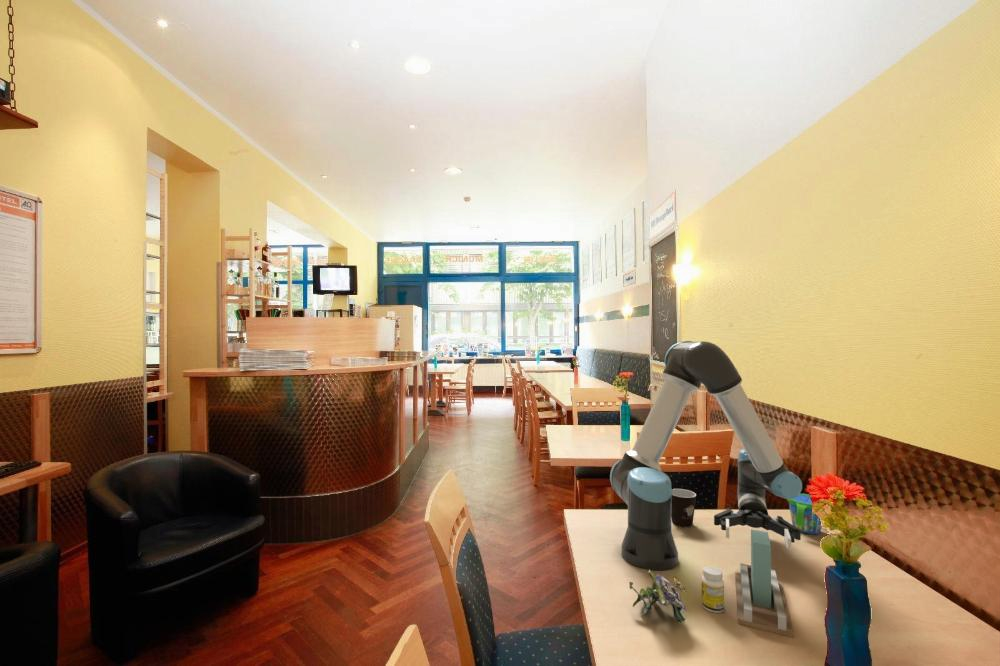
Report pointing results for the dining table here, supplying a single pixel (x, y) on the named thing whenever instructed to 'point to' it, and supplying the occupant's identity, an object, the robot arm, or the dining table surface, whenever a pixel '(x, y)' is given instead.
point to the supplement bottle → (712, 589)
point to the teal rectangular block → (761, 568)
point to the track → (759, 615)
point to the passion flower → (662, 595)
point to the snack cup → (804, 514)
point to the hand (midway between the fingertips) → (757, 538)
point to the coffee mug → (683, 507)
